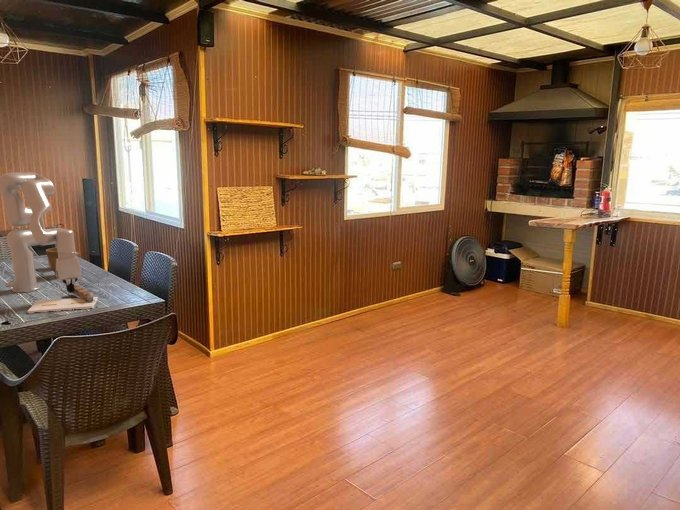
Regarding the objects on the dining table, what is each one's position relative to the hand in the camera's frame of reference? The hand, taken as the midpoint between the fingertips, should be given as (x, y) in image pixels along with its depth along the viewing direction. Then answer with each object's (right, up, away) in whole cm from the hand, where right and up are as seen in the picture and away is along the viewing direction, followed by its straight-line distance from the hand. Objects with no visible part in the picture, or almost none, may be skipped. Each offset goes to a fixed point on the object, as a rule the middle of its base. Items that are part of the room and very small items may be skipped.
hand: (70, 292), depth 240 cm
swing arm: (+6, -2, -1) cm, 6 cm away
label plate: (+3, -6, -11) cm, 13 cm away
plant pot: (-28, +6, +44) cm, 52 cm away
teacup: (-41, +9, +61) cm, 74 cm away
